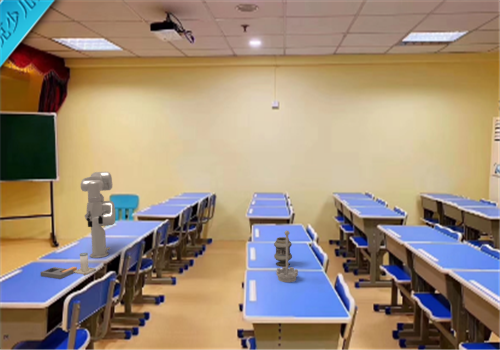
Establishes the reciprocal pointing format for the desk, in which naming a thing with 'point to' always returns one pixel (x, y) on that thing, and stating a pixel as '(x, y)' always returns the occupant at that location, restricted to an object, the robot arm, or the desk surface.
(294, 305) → the desk surface
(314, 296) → the desk surface
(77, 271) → the tray
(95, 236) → the robot arm
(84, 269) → the cylinder
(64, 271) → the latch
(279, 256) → the apothecary jar
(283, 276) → the flag stand
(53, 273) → the grey holder base
